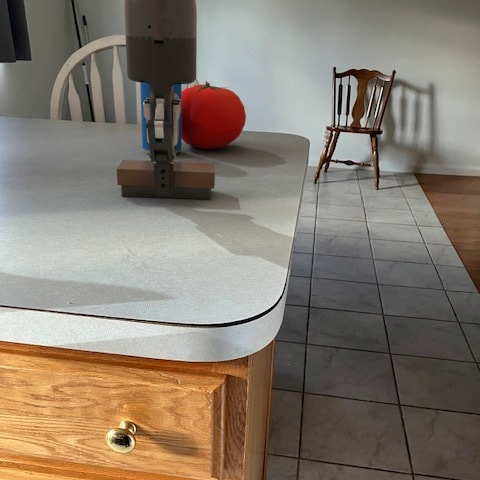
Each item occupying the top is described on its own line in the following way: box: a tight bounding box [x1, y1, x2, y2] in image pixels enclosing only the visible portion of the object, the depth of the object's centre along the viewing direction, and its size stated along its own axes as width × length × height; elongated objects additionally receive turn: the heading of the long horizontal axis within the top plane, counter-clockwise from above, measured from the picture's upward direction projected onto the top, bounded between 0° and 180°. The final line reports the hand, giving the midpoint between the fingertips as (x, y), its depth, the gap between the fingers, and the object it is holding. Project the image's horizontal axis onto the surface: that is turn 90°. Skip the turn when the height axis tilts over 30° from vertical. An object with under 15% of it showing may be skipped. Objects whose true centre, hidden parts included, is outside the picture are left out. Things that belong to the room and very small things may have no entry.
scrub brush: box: [116, 159, 216, 200], centre depth 69 cm, size 12×5×4 cm, turn 93°
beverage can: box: [139, 82, 182, 155], centre depth 88 cm, size 6×6×12 cm
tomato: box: [181, 80, 247, 150], centre depth 94 cm, size 13×12×11 cm
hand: (164, 194), depth 66 cm, fingers closed
